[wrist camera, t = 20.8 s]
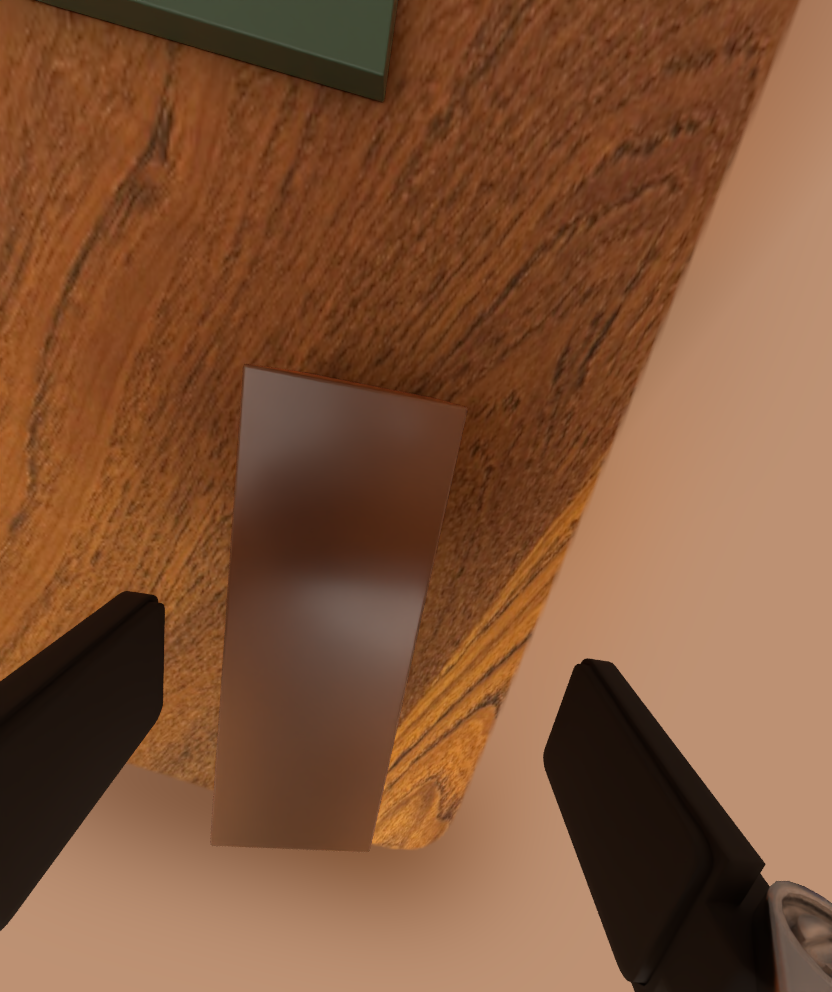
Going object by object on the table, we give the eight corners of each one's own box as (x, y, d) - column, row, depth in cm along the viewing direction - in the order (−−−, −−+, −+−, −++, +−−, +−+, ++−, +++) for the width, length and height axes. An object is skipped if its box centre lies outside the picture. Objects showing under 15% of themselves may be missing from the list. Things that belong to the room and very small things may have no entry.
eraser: (435, 398, 13) (469, 407, 8) (374, 704, 17) (369, 854, 11) (301, 371, 13) (241, 362, 7) (266, 694, 16) (209, 847, 11)
